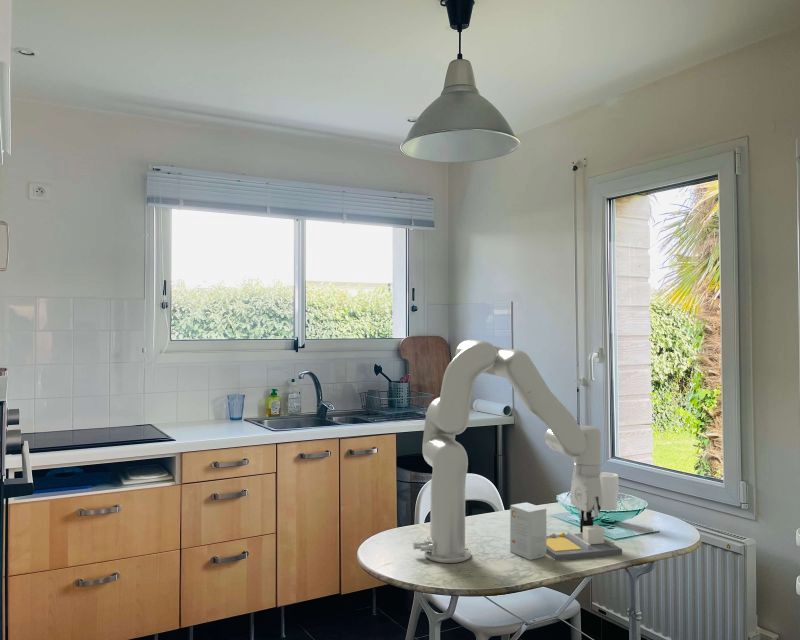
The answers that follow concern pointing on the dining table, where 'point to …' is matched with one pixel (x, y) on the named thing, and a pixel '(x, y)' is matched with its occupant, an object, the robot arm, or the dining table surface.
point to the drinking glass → (609, 490)
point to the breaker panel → (577, 547)
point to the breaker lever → (593, 534)
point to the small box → (528, 530)
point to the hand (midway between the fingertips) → (586, 532)
